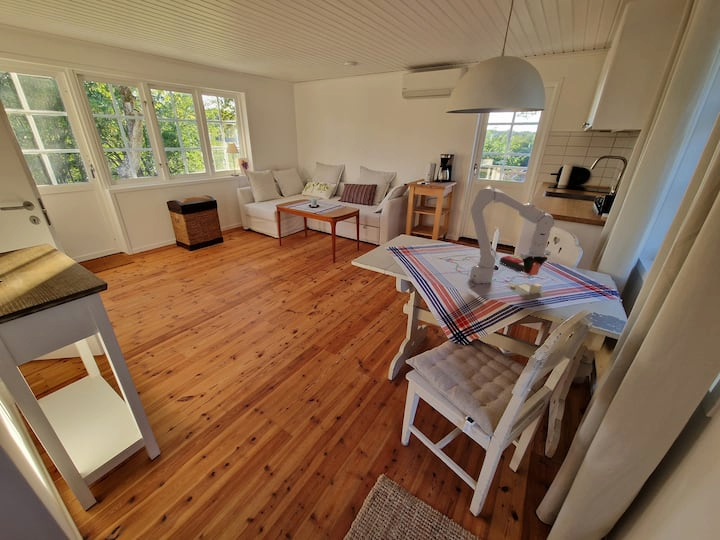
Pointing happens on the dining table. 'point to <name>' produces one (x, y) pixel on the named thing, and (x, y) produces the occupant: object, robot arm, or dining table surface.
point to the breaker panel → (526, 291)
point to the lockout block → (534, 269)
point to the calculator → (513, 262)
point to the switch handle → (535, 288)
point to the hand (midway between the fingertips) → (530, 271)
